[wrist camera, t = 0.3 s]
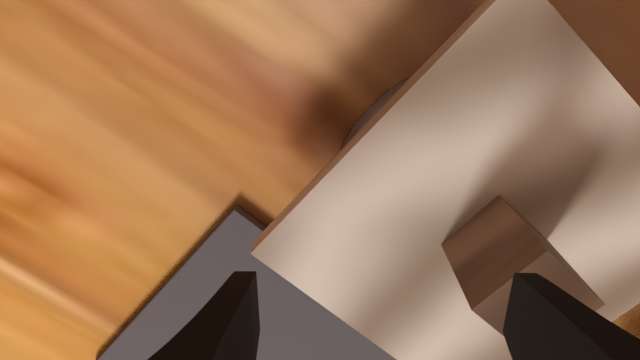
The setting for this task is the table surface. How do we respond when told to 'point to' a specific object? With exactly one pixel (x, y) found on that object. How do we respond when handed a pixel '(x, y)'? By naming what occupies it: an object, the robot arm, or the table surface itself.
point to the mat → (273, 298)
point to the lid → (474, 192)
